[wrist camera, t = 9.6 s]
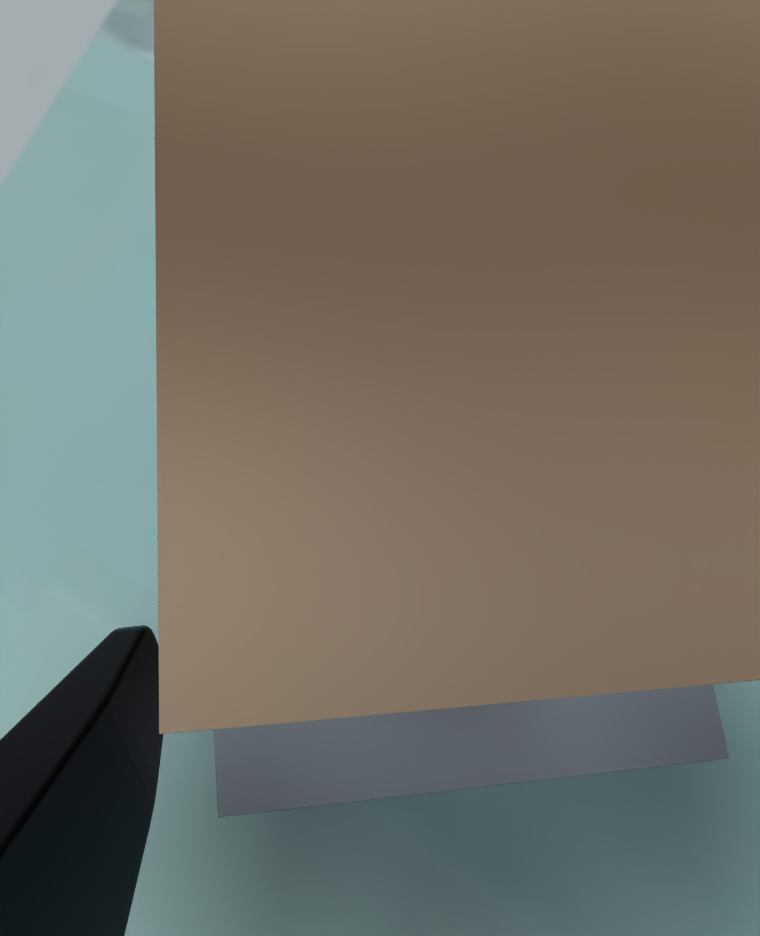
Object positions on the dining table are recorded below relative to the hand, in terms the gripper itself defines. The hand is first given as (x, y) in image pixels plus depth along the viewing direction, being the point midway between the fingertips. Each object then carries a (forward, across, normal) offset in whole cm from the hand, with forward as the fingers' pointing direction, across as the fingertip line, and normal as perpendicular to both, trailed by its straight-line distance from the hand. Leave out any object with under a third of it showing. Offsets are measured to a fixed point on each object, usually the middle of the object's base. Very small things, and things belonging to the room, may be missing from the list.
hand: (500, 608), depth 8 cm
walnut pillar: (+7, 0, +4) cm, 8 cm away
